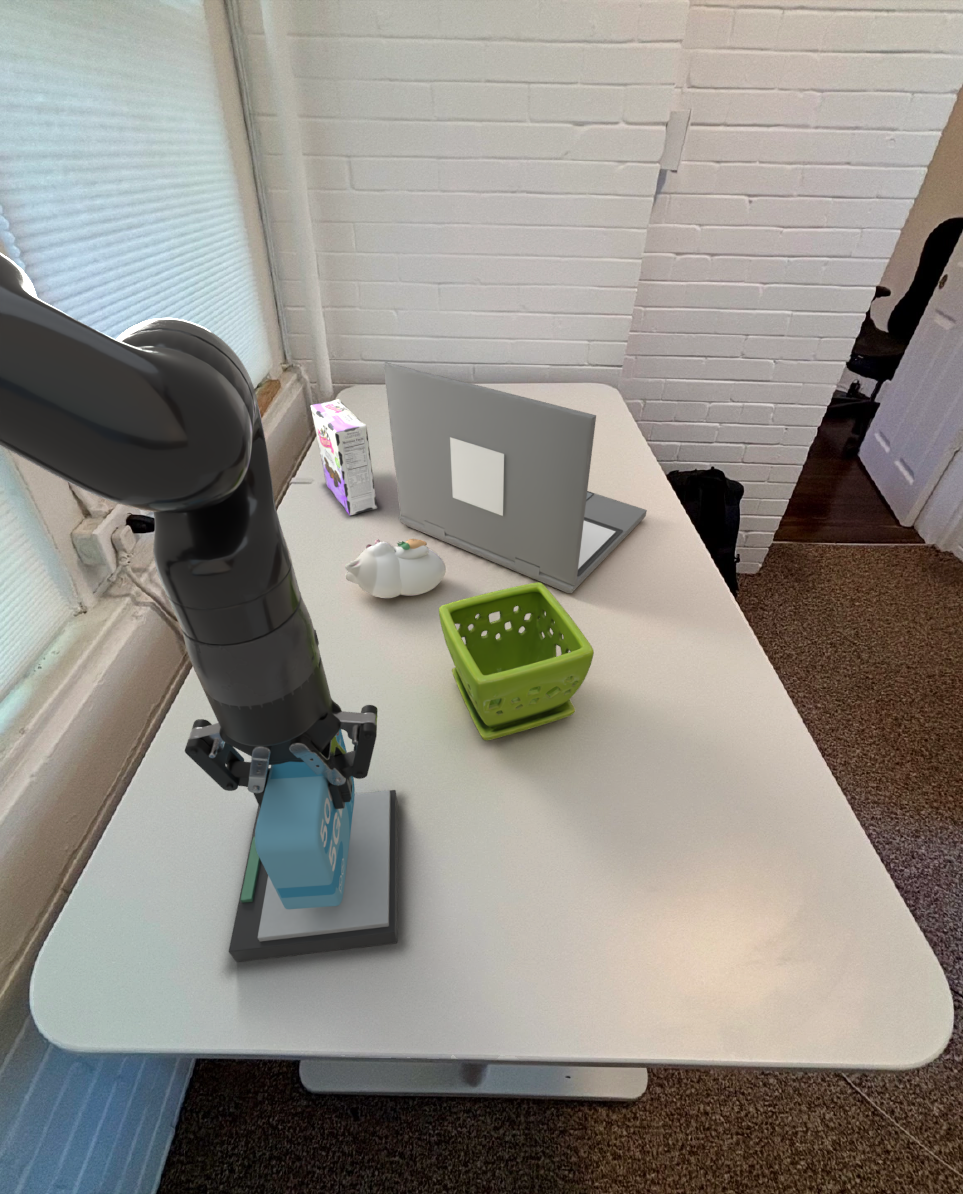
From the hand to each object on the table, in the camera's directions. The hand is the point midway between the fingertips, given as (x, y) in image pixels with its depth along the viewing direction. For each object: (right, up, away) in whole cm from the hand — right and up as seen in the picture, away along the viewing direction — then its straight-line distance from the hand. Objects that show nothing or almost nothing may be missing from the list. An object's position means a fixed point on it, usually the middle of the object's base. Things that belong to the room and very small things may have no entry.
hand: (309, 801), depth 49 cm
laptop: (+22, +30, +56) cm, 67 cm away
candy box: (-11, +36, +64) cm, 75 cm away
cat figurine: (+1, +18, +42) cm, 46 cm away
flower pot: (+18, +4, +25) cm, 31 cm away
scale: (-1, -10, +8) cm, 13 cm away
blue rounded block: (0, -6, +5) cm, 8 cm away
